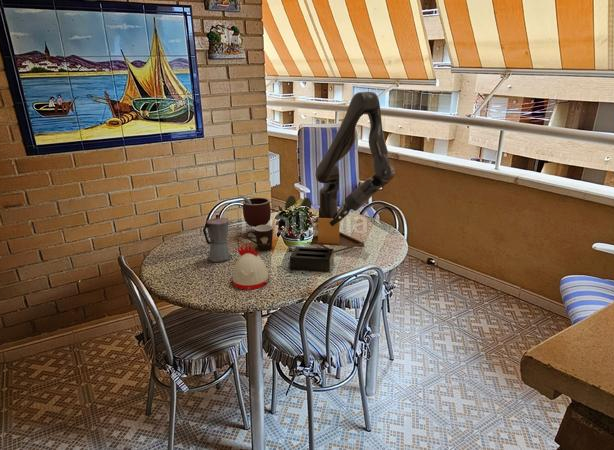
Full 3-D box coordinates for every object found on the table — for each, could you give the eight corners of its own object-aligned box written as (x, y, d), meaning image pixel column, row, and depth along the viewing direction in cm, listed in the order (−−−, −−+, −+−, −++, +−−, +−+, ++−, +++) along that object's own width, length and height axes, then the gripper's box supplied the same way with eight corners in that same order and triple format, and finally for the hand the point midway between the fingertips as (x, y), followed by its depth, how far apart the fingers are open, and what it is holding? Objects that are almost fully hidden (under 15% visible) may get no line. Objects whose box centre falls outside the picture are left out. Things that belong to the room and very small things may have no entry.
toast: (317, 242, 192) (317, 218, 188) (318, 241, 193) (318, 217, 189) (339, 243, 190) (339, 219, 186) (339, 242, 191) (339, 218, 187)
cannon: (291, 227, 215) (290, 206, 211) (272, 224, 220) (271, 204, 217) (313, 214, 236) (312, 195, 232) (295, 211, 241) (294, 192, 237)
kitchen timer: (238, 272, 165) (235, 238, 160) (271, 273, 164) (269, 238, 159) (228, 288, 152) (224, 252, 147) (264, 290, 151) (262, 252, 146)
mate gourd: (275, 229, 213) (273, 192, 206) (267, 239, 200) (264, 199, 193) (247, 227, 216) (244, 191, 209) (237, 237, 203) (234, 198, 197)
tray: (307, 241, 196) (307, 237, 195) (335, 233, 204) (335, 230, 204) (334, 255, 179) (334, 251, 178) (364, 246, 187) (364, 242, 187)
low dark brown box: (287, 272, 164) (286, 256, 162) (293, 261, 174) (293, 246, 172) (329, 275, 161) (329, 259, 158) (333, 264, 171) (333, 248, 168)
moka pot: (238, 254, 183) (234, 211, 177) (217, 267, 170) (213, 222, 163) (220, 251, 187) (216, 209, 180) (199, 264, 174) (194, 219, 167)
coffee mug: (277, 245, 191) (276, 225, 188) (269, 252, 184) (268, 232, 180) (254, 243, 195) (253, 223, 192) (246, 250, 187) (244, 229, 184)
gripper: (353, 188, 188) (328, 211, 194) (350, 196, 175) (324, 220, 181) (364, 199, 189) (339, 222, 195) (362, 209, 176) (335, 232, 182)
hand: (332, 221), depth 188 cm, fingers open, 8 cm apart
